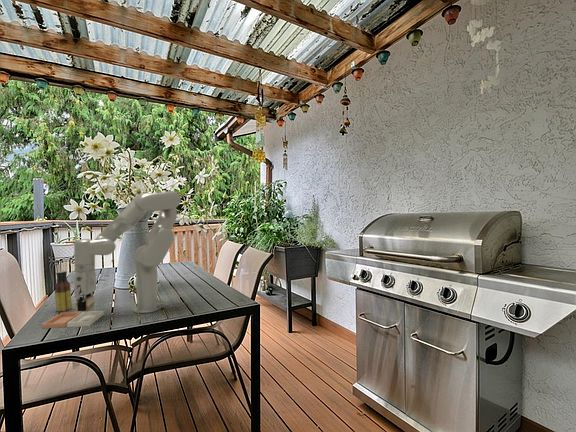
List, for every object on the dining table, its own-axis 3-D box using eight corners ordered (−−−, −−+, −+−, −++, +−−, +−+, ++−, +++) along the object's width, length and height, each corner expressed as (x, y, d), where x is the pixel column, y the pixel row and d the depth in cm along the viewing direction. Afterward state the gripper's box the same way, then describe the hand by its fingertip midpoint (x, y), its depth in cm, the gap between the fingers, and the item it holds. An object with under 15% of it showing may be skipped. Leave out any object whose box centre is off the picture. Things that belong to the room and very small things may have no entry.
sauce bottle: (69, 308, 157) (68, 269, 156) (73, 311, 153) (72, 270, 152) (53, 312, 152) (52, 271, 151) (57, 315, 148) (56, 273, 147)
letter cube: (93, 307, 141) (93, 295, 141) (88, 310, 136) (88, 299, 136) (81, 307, 141) (81, 296, 141) (75, 311, 136) (75, 299, 136)
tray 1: (81, 317, 145) (81, 311, 145) (64, 329, 131) (64, 323, 131) (61, 318, 144) (61, 312, 144) (42, 330, 130) (42, 324, 130)
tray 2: (103, 316, 147) (103, 310, 146) (89, 327, 133) (89, 321, 133) (84, 317, 145) (84, 311, 145) (67, 328, 132) (67, 323, 131)
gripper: (84, 271, 130) (84, 314, 131) (102, 263, 147) (102, 302, 148) (64, 271, 129) (64, 315, 130) (85, 264, 146) (85, 303, 146)
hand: (85, 308), depth 139 cm, fingers closed on letter cube, 5 cm apart
